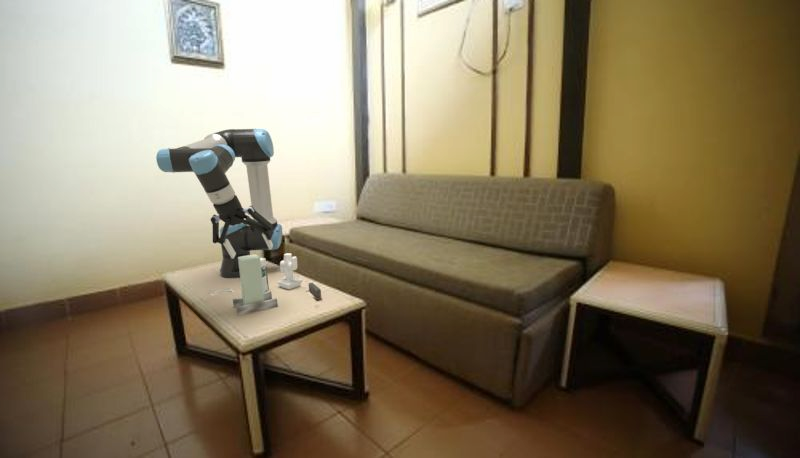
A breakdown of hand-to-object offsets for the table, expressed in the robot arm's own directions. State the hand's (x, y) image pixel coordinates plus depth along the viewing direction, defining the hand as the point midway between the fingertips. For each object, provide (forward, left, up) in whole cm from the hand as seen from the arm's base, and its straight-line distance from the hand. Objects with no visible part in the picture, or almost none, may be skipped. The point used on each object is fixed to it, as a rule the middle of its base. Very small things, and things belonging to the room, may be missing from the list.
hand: (252, 251), depth 127 cm
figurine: (-18, -2, -21) cm, 28 cm away
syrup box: (-8, -9, -21) cm, 24 cm away
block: (+3, +1, -19) cm, 19 cm away
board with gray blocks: (-4, +5, -20) cm, 22 cm away
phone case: (0, -18, -21) cm, 28 cm away
